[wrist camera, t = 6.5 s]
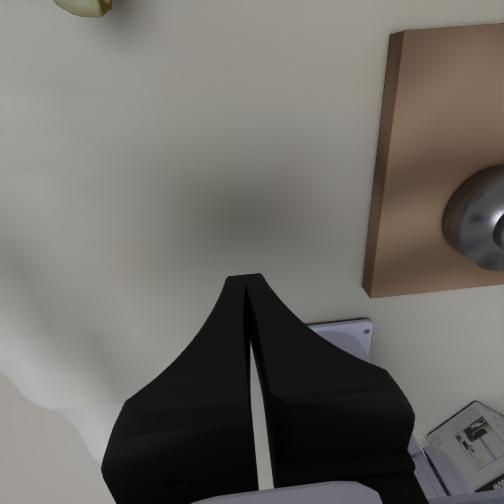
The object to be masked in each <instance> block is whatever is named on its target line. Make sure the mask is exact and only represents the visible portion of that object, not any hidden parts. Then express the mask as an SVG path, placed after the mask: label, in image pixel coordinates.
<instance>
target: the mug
mask: <svg viewBox="0 0 504 504" xmlns="http://www.w3.org/2000/svg"><path fill="white" fill-rule="evenodd" d="M53 1H54V2H55V3H56V4H57V5H58V6H59V7H61V8H62V9H64V10H66V11H68V12H70V13H71V14H73V15H77V16H81V17H102V16H104V14H105V13H106V12H107V11H108V10H110V9H111V6H112V0H53Z"/></svg>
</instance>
